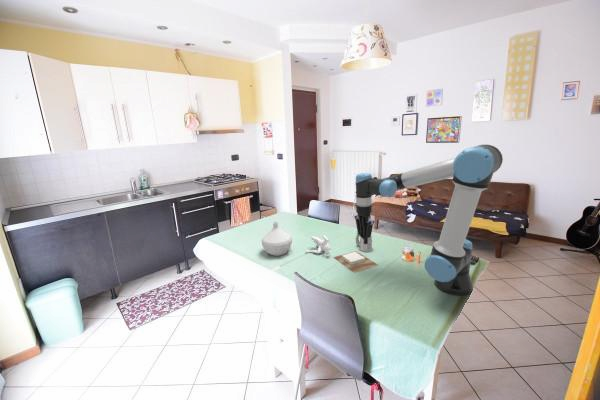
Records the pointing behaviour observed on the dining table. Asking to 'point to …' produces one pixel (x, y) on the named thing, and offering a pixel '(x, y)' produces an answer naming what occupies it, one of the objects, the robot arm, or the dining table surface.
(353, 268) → the board
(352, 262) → the tile
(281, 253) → the vase
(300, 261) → the dining table surface
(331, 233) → the dining table surface
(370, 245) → the mug
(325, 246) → the person figurine
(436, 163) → the robot arm
